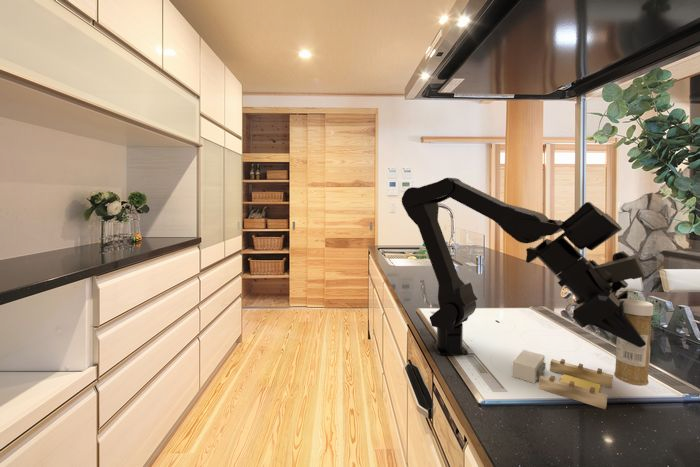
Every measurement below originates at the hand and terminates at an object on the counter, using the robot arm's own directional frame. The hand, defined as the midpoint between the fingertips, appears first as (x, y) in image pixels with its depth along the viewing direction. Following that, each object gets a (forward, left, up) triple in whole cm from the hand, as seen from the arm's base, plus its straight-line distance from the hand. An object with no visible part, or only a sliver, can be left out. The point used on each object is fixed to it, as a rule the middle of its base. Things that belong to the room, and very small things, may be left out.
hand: (643, 341), depth 57 cm
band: (-6, -6, -11) cm, 14 cm away
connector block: (-12, -12, -11) cm, 20 cm away
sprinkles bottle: (-1, -1, -7) cm, 7 cm away
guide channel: (-6, -6, -11) cm, 14 cm away
